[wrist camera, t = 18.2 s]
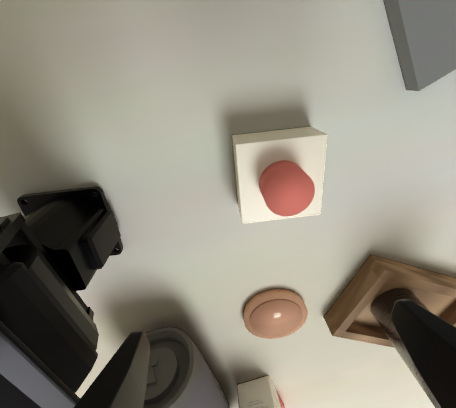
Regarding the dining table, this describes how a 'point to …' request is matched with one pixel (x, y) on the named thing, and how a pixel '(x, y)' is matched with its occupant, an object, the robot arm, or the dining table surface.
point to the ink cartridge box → (258, 394)
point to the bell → (382, 314)
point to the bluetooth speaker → (179, 374)
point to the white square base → (272, 152)
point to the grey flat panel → (423, 39)
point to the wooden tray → (380, 282)
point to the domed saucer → (275, 313)
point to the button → (286, 188)
